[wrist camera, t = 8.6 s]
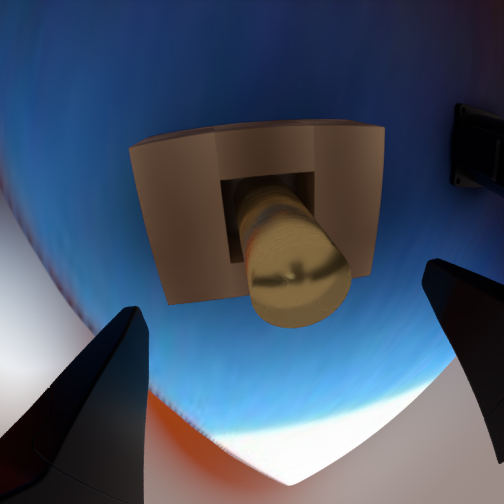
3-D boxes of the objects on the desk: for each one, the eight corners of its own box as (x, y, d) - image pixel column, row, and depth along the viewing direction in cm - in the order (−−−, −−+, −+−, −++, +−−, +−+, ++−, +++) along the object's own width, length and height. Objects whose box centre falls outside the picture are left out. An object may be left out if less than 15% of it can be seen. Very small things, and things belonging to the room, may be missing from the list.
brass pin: (288, 168, 14) (356, 237, 7) (290, 220, 16) (345, 318, 9) (230, 174, 14) (245, 251, 7) (236, 227, 15) (254, 334, 9)
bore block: (347, 119, 14) (384, 127, 11) (343, 241, 18) (370, 275, 15) (149, 136, 13) (128, 147, 10) (175, 264, 17) (168, 305, 14)
